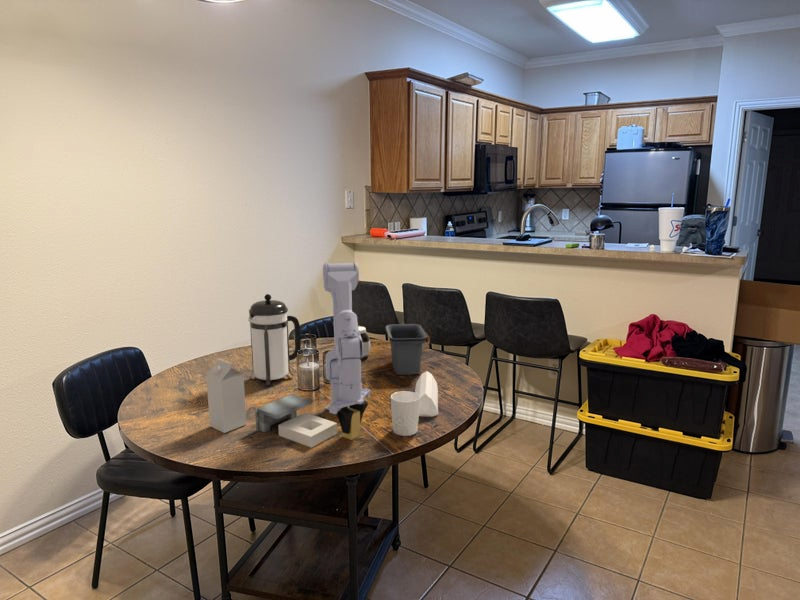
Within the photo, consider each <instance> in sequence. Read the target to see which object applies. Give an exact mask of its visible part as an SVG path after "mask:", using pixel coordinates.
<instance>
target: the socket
mask: <svg viewBox="0 0 800 600" xmlns="http://www.w3.org/2000/svg"><path fill="white" fill-rule="evenodd" d="M337 434H338V422H335V421H332V420H330V419H329V420H328V419H326V418H322V417H320V416H317V415H313V414H310V413H309V412H303V413H300V414H298V415H297V417H295V418H292V419H288V420H286V421H284V422H282V423H280V424H278V436H279V437H282V438H284V439H288V440H290V441H292V442H295V443H298V444H301V445H303V446H305V447H308V448H314V447H316V446H317V445H319V444H321V443H323V442H325V441H326V440H328V439H330V438H331V437H333V436H335V435H337Z"/></svg>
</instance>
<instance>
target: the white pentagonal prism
mask: <svg viewBox="0 0 800 600" xmlns="http://www.w3.org/2000/svg"><path fill="white" fill-rule="evenodd" d="M414 388H415V389H414V392H415V393H417V394H419V396H420V405H419V417H436V416H437V415H439V388H438V382H437V381H436V379H435V377H434V376H433V374H432V373H431V372H429V371H428V370H426V371H424V372H423V373H421V375H420V376H419V377H418V379H417V381H416V383H415V387H414Z"/></svg>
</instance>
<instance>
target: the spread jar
mask: <svg viewBox="0 0 800 600" xmlns="http://www.w3.org/2000/svg"><path fill="white" fill-rule="evenodd" d="M358 329H359V333H360V335H361V338H362V342H363V357H362V358H361V356H360V359H361V360H365V359H366V358H367V357H368V356H369V355H370V352H371V339H370V336H369V334H368V333H367V329H366V327H365V326H360V325H358Z"/></svg>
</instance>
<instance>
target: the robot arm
mask: <svg viewBox="0 0 800 600" xmlns="http://www.w3.org/2000/svg"><path fill="white" fill-rule="evenodd" d="M322 265H323V266H322V276H323V277H322V279H323V288H324V291H326V292H328V293H330V295H331V297H332V312H333V313H332V314H333V334H334V335H333V339H334V341H333V342H334V347H333V348H332V349H330V350H329V351H328V352H327V353H326V355H325V377H326V380H327V381H330V399H331V400H330V404H329V405H326V406H325V410H328V412H329V414H334V415H335V416H336V417H337V420H338V422H339V424H340V428H341V433H342V432H343V433H346V434H349V433H350V429H351V419H352V415H353V413H354V411H352V410H349V408H352V409H356V410H359V411H360V425H361V424H362V421H363V415H364V413H365V411H366V409H367V407H368V406H369V404H368V403H369V402H368V401H367V400H365V398H366V399H367V398H370V397H371V389H367V388H363V383H362V359H360V356H361V358H362V357H363V342H362V338H361V335H360V333H359V329H358V326H359V324H358V323H359V322H358V315H357V314H356V313H355V312H353V300H352V298H353V295H352V291H355V290H356V288H357V286H358V283H359V282H360V281H359V280H360V271H359V269H360V268H359V264H358V263H357V262H355V261H354V262H339V263H337V262H336V263H335V262H334V263H326V262H325V263H324V264H322Z"/></svg>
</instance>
